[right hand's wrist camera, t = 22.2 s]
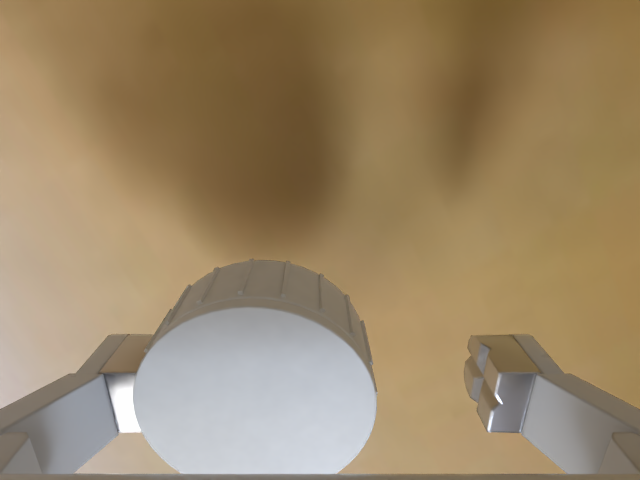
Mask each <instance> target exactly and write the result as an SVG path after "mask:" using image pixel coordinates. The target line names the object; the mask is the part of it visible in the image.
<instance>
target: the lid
mask: <svg viewBox="0 0 640 480" xmlns="http://www.w3.org/2000/svg"><path fill="white" fill-rule="evenodd" d="M144 352H146V354H145V356H144V358H143V359H142V361H141V363H140V365H139V368H138V370H137V373H136V376H135V381H134V385H133V406H134V413H135V416H136V419H137V422H138V425H139V427H140V429H141V432H142V434H143V436H144V437H145V439H146V440H147V442H148V443H149V445H150V446H151V447H152V448H153V450H154V451H155V452H156V453H157V454H158V455H159V456H160V457H161V458H162V459H163V460H164V461H165V462H167V463H168V464H169V465H170V466H171V467H173V468H174V469H176V470H177V471H179V472H180V473H182V474H336V473H337V472H339V471H340V470H342V469H343V468H344V467H345V466H346V465H348V464H349V463H350V462H351V461H352V460H353V459H354V458H355V457H356V456H357V455H358V454H359V452H360V451H361V449H362V448H363V447H364V445H365V444H366V442H367V440H368V438H369V436H370V434H371V431H372V428H373V425H374V422H375V417H376V411H377V396H376V395H377V388H376V384H375V379H374V374H373V369H372V364H373V361H372V356H371V352H370V347H369V342H368V338H367V333H366V329H365V324H364V321H360V319H359V316H358V314H357V312H356V310H355V308H354V307H353V305H352V304H351V302H350V298H349V296H348V295H344V294H343V293H342V292H341V291H340V290H339V289H338V288H337V287H336V286H335V285H333V284H332V283H331V282H330V281H328V280H327V279H325V278H324V275H323V274H321V273H320V274H317V273H315V272H313V271H311V270H308V269H306V268H304V267H301V266H297V265H294V264H291V263H290V262H289V261H286V262H280V261H271V260H255V261H254V259H249V261H245V262H240V263H235V264H231V265H228V266H225V267H222V268H219V267H216V268H214V270H213V272H211V273H209V274H207V275H206V276H204V277H203V278H201V279H200V280H198V281H197V282H196V283H195V284H193V285H192V286H191V285H190V284H189V285H188V286H187V287H186V289H185V290H184V292H183V293H182V295H181V297H180V298H179V300H178V301H177V303H176V305H175V306H174V308H173V309H170V310H169V312H168V314H167V315H166V317H165V318H164V320H163V321H162V323H161V324H160V326H159V328H158V329H157V331H156V332H155V334H154V335H153V337H152V338H151V340H150V342H149V343H148V345H147V346H146V348H145V350H144Z"/></svg>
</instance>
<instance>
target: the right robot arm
mask: <svg viewBox="0 0 640 480" xmlns="http://www.w3.org/2000/svg"><path fill="white" fill-rule="evenodd" d="M152 337H153V335H150V334H131V335H130V334H112V335H109V336H107V338H106V339H105V340H104V341H103V342H102V343H101V345H100V346H99V347H98V348H97V349H96V350H95V352H94V353H93V354H92V355H91V356H90V357H89V359H88V360H87V361H86V362H85V363H84V364H83V365H82V367H81V368H80V369H79V370H78V371H77V372H76V374H68V375H66V376H64V377H62V378H60V379H58V380H56V381H54V382H52V383H50V384H48V385H46V386H45V387H43V388H41V389H39V390H37V391H35V392H33V393H31V394H29V395H27V396H25V397H23V398H21V399H19V400H17V401H15V402H13V403H11V404H10V405H8V406H6V407H4V408H2V409H0V480H640V409H638V408H636V407H634V406H632V405H630V404H628V403H626V402H624V401H623V400H621V399H619V398H617V397H615V396H613V395H611V394H609V393H607V392H605V391H603V390H601V389H599V388H597V387H595V386H593V385H592V384H590V383H588V382H586V381H584V380H582V379H580V378H578V377H576V376H574V375H572V374H564V372H563V371H562V370H561V369H560V368H559V367H558V366H557V364H556V363H555V362H554V361H553V360H552V359H551V357H550V356H549V355H548V354H547V353H546V352H545V350H544V349H543V348H542V347H541V346H540V345H539V343H538V342H537V341H536V340H535V339H534V338H533V336H531V335H529V334H509V335H471V337H470V339H469V343H468V350H469V352H470V353H471V356H470V357H469V358H468V359H467V360H466V361H465V367H464V379H465V385H466V389H467V391H468V394H469V396H470V398H472V399H473V400H474V401H476V402H477V403H478V407H477V412H478V414H479V416H480V419H481V421H482V423H483V425H484V427H485V429H486V431H487V432H508V433H522V434H521V435H523V436H524V437H525V438H526V439H527V440H528V441H530V442H531V443H532V444H533V445H534V446H535V447H537V448H538V449H539V450H540V451H541V452H542V453H544V454H545V455H546V456H547V457H548V458H550V459H551V460H552V461H553V462H554V463H555V464H557V465H558V466H559V467H560V468H561V469H562V470H564V471H565V472H566V473H567V474H73V473H74V472H75V471H77V470H78V469H79V468H80V467H81V466H82V465H84V464H85V463H86V462H87V461H88V460H89V459H91V458H92V457H93V456H94V455H95V454H96V453H98V452H99V451H100V450H101V449H102V448H104V447H105V446H106V445H107V444H108V443H109V442H111V441H112V440H113V439H114V438H115V437H116V436H118V433H132V432H141V429H140V427H139V425H138V422H137V419H136V416H135V413H134V406H133V385H134V381H135V376H136V373H137V370H138V368H139V365H140V363H141V361H142V359H143V358H144V356H145V354H146V352H144V350H145V348H146V346H147V345H148V343H149V342H150V340H151V338H152Z"/></svg>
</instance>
